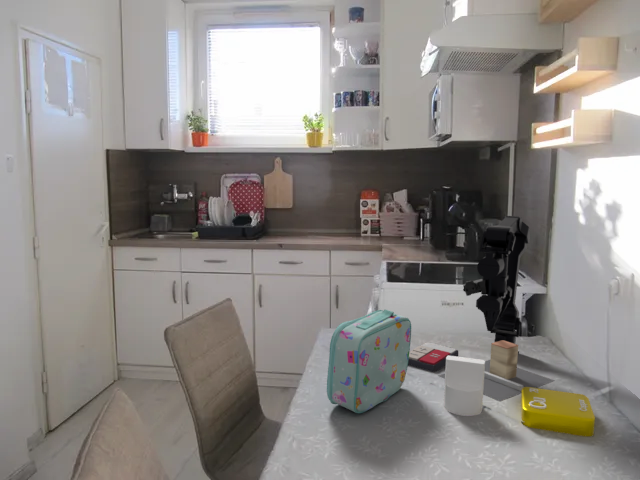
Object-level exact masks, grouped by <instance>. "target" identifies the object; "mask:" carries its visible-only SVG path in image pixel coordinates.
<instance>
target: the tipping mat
mask: <svg viewBox="0 0 640 480" xmlns="http://www.w3.org/2000/svg"><path fill="white" fill-rule="evenodd" d="M437 376H438V377H439V378H441V379H442V378H443V379H444V380H445V373H442V374H439V375H437ZM555 381H556V380H554V379H552V378H549V377H546V376H543V375H540V374H537V373H535V372H531V371H528V370H525V369H523V368H519V367H517V372H516V377H514V378H511V379H508V380H507V379H505V378H502V377H499V376H497V375H494V374H491V373H490V359H488V360H485V371H484V387H483V396H486V397H488V398H490V399H494V400H495V401H498V402H502V401H504V400H508V399H510V398H513V397H515V396H518V395H521V391H522V388H524V387H532V388H540V387H542V386H544V385H547V384H549V383H552V382H555Z"/></svg>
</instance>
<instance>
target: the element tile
mask: <svg viewBox="0 0 640 480" xmlns="http://www.w3.org/2000/svg"><path fill="white" fill-rule="evenodd" d="M520 410H521V411H520V412H521V413H520V414H521V415H520V416H521V424H522V425H523V426H524V427H527V428H530V429H535V430H542V431H547V432H548V431H549V432H555V433H560V434H565V435H566V434H567V435H572V436H573V435H574V436H580V437H585V438H586V437H587V438H588V437H593V436H594V435H595V423H596V417H595V413H594V410H593V408H592V405H591V401H590V399H589V397H588V396H587V395H585V394H582V393H575V392H567V391H561V390H553V389H546V388H540V387H537V388H532V387H524V388H522V391H521V394H520Z"/></svg>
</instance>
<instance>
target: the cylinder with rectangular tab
mask: <svg viewBox="0 0 640 480" xmlns="http://www.w3.org/2000/svg"><path fill="white" fill-rule="evenodd" d="M485 361H486V360H485V359H479V358H472V357H465V356H464V357H463V356H458V357H457V356H449V355H448V356H447V357H446V366H445V372H444V374H445V379H444V392H443V393H444V394H443V408H444V409H445V410H446V411H448V412H449V413H451V414H454V415H458V416H462V417H463V416H465V417H470V416H472V417H473V416H478V415H479V414H481V413H482V411H483V400H484V399H483V398H484V395H483V387H484V371H485Z"/></svg>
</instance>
